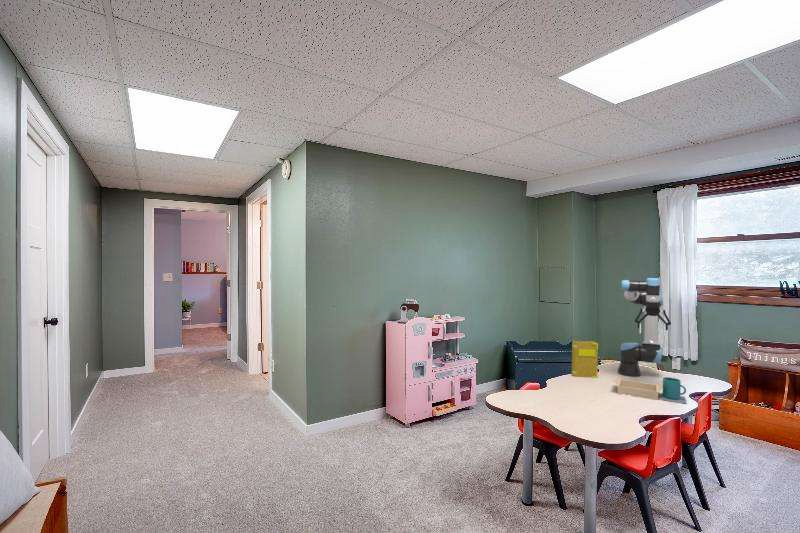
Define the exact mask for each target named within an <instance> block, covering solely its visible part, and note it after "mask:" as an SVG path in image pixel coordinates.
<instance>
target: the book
mask: <svg viewBox="0 0 800 533" xmlns="http://www.w3.org/2000/svg"><path fill="white" fill-rule="evenodd" d="M598 352H599V343H598V342H596V341H589V340H587V341H586V340H584V341H583V340H581V341H580V340H573V341H571V376H572V377H575V378H591V379H592V378H593V379H594V378H595V379H598V376H599V374H598V372H599V371H598V368H599V367H598V360H599V357H598V356H599V355H598V354H599V353H598Z"/></svg>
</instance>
